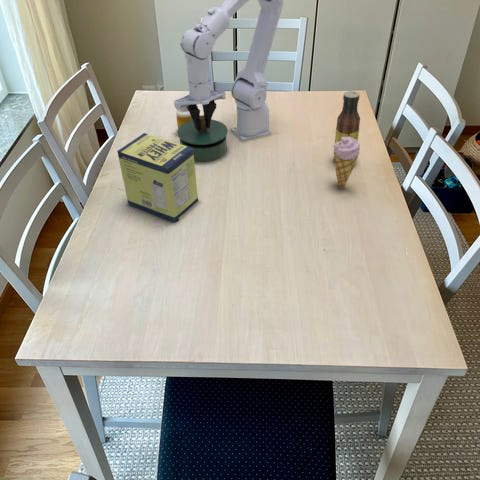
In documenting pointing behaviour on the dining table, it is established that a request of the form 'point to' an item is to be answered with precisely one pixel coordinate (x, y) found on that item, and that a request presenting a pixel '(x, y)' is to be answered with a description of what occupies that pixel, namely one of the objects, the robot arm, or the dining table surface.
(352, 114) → the sauce bottle
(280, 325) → the dining table surface
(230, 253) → the dining table surface
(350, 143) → the ice cream cone
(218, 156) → the pot
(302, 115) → the dining table surface
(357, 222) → the dining table surface
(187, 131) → the lid
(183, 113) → the supplement bottle
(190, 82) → the robot arm
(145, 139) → the protein box
